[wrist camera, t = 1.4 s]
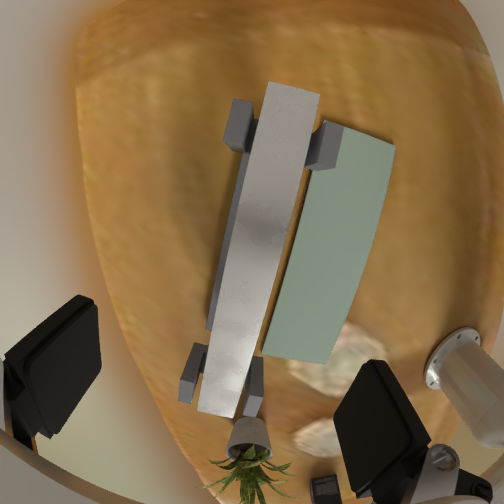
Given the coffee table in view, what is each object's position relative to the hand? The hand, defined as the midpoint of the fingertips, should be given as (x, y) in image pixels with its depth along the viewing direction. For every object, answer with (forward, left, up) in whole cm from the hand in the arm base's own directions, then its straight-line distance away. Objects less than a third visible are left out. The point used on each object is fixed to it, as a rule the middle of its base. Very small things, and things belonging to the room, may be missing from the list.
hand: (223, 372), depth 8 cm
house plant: (-8, +31, -23) cm, 40 cm away
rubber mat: (-9, 0, -23) cm, 25 cm away
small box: (-30, +54, -23) cm, 66 cm away
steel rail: (0, 0, -11) cm, 11 cm away
